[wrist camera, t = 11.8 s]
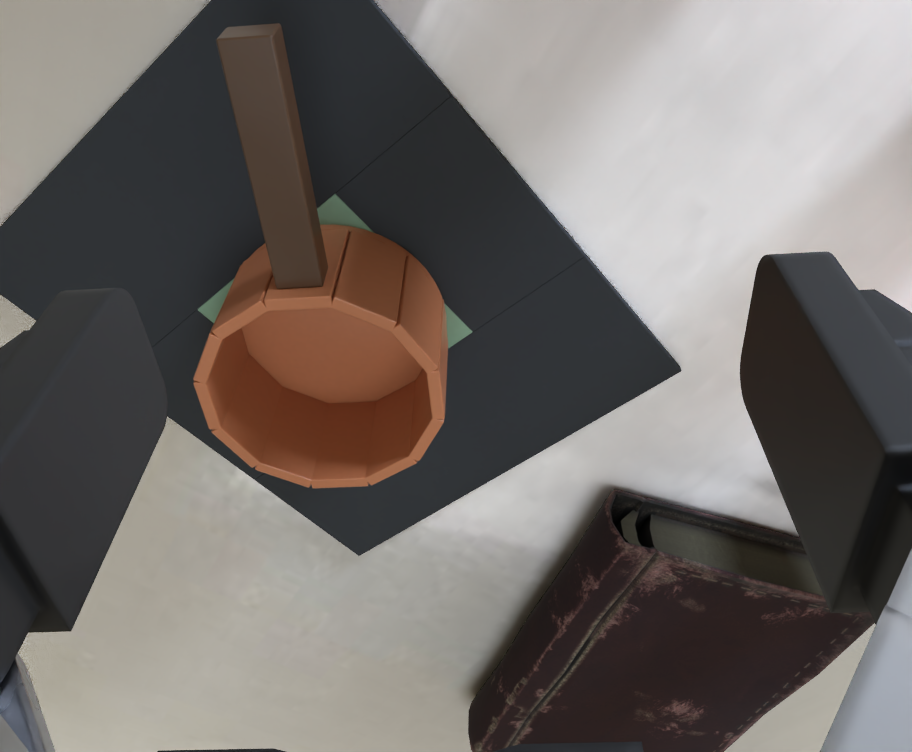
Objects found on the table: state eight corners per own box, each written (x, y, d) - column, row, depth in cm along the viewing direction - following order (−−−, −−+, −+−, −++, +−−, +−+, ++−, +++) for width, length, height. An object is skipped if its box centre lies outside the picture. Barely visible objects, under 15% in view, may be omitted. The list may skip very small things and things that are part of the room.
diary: (464, 694, 63) (464, 757, 59) (601, 481, 49) (612, 546, 45) (678, 738, 67) (690, 801, 63) (865, 551, 52) (897, 617, 48)
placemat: (-34, 263, 40) (-38, 267, 40) (296, -92, 31) (295, -90, 30) (359, 551, 53) (359, 556, 53) (680, 366, 43) (681, 371, 43)
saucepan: (454, 398, 45) (451, 483, 39) (258, 407, 45) (230, 492, 40) (414, -15, 32) (402, 31, 27) (141, 6, 32) (78, 54, 27)
